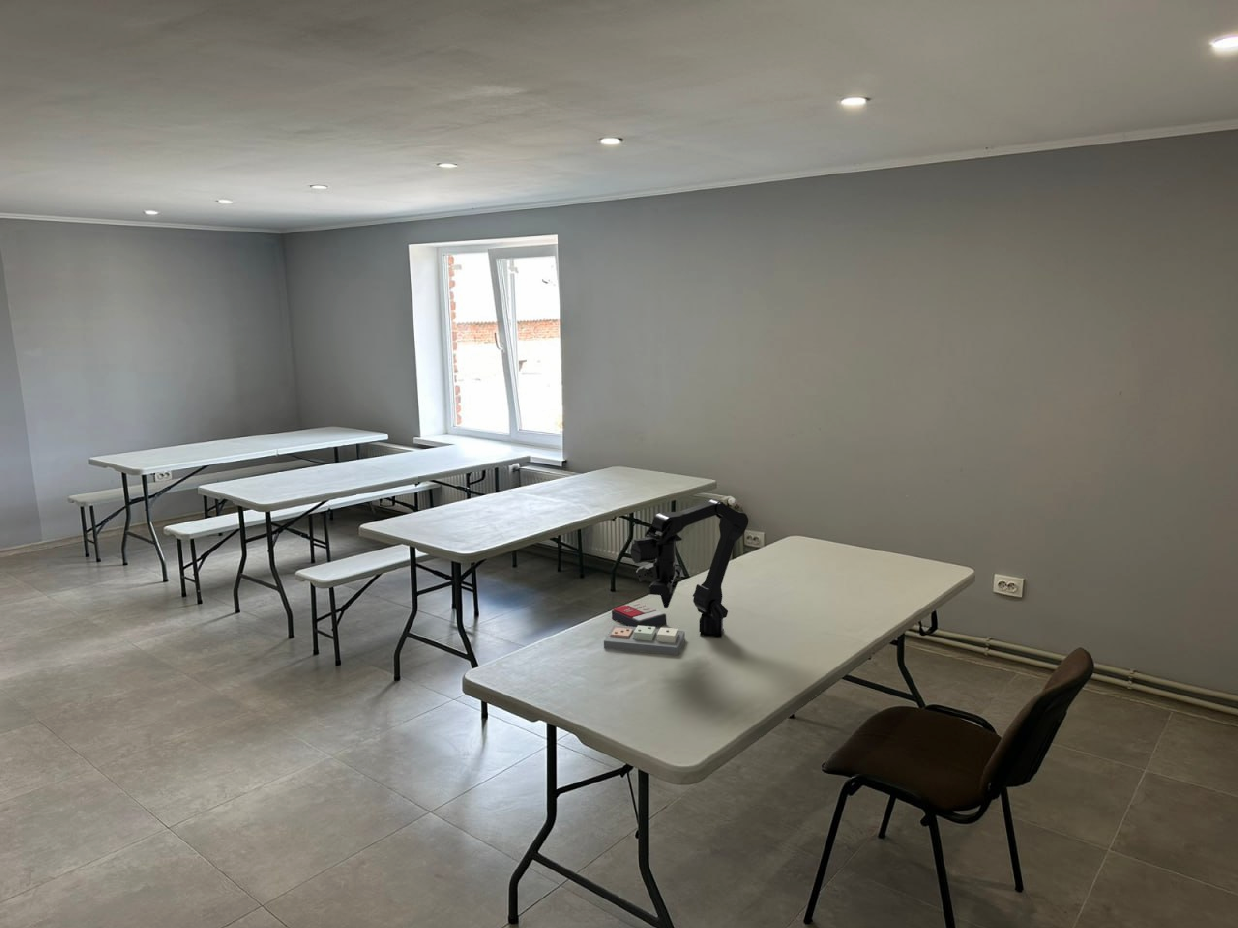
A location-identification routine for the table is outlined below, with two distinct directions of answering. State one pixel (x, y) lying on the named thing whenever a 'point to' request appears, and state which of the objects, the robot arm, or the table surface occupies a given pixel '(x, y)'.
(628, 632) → the tile
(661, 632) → the tile
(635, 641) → the console
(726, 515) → the robot arm
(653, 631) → the tile
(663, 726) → the table surface
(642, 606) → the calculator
